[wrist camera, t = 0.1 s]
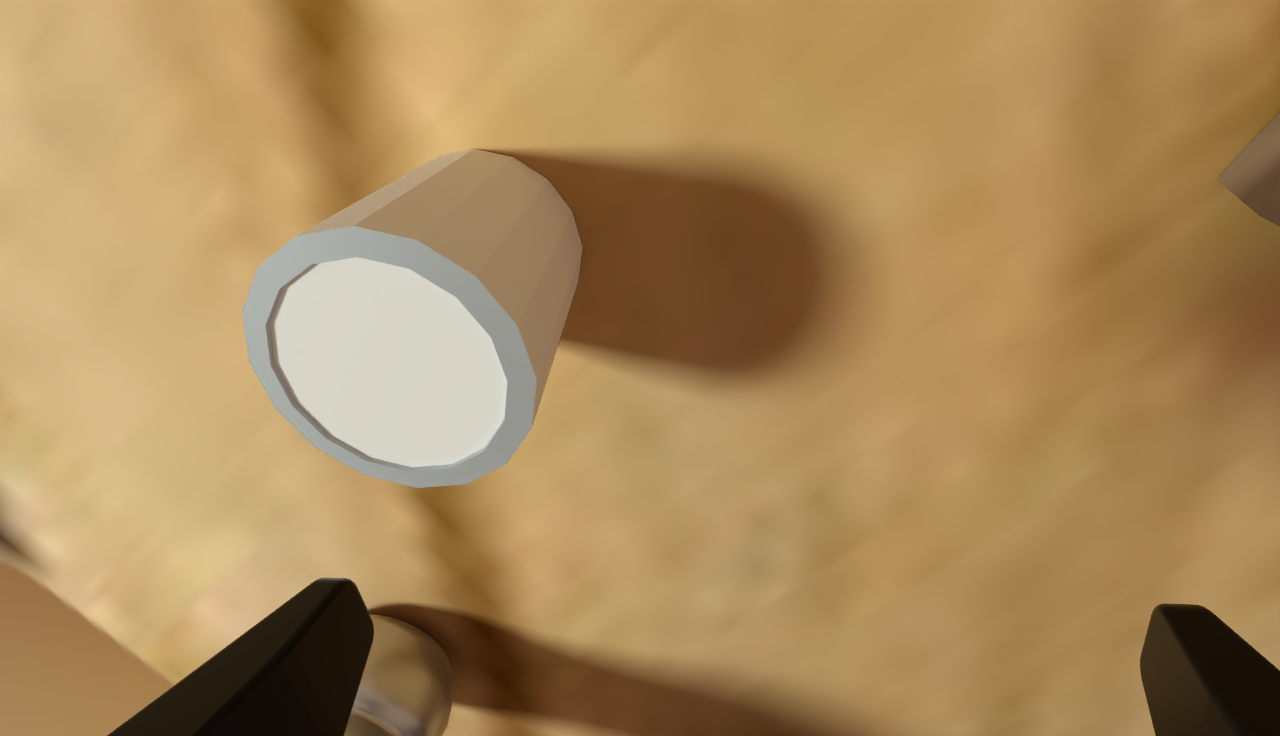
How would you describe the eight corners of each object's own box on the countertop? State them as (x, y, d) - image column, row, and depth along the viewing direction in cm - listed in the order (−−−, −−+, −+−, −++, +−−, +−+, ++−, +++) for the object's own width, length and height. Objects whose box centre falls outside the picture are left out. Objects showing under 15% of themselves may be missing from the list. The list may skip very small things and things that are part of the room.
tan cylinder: (533, 85, 21) (428, 179, 15) (642, 307, 24) (589, 454, 18) (331, 178, 24) (176, 289, 18) (453, 369, 27) (354, 516, 21)
